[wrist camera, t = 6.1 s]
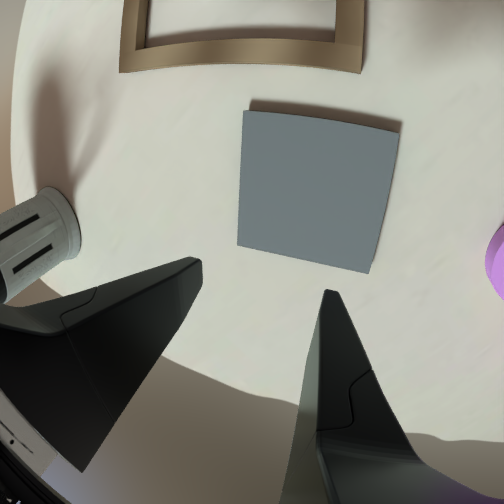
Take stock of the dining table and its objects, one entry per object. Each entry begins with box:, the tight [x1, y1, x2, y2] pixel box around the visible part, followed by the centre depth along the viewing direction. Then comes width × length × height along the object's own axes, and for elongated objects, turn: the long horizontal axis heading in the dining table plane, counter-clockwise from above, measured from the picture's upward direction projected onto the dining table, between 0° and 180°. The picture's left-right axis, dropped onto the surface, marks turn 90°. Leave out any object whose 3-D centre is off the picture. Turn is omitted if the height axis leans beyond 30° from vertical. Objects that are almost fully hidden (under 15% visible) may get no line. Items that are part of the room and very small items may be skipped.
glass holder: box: [0, 187, 81, 304], centre depth 21 cm, size 9×14×15 cm, turn 110°
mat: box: [237, 110, 399, 274], centre depth 18 cm, size 9×9×1 cm
